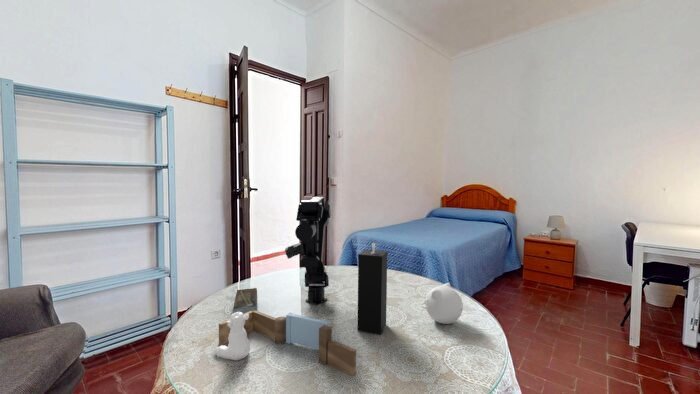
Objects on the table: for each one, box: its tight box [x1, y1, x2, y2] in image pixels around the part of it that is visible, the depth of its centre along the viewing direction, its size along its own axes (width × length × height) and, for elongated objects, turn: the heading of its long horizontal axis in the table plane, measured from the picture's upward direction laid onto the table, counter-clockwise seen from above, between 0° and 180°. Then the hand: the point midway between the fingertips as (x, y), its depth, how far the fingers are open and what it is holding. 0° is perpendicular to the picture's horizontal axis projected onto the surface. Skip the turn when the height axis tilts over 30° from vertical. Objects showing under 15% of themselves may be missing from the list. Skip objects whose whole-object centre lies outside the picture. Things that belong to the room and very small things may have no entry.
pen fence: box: [218, 310, 357, 376], centre depth 82 cm, size 14×40×9 cm, turn 55°
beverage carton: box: [232, 287, 258, 314], centre depth 109 cm, size 8×19×6 cm, turn 16°
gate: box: [285, 312, 330, 351], centre depth 86 cm, size 13×2×8 cm, turn 65°
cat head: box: [420, 282, 464, 325], centre depth 103 cm, size 15×13×12 cm
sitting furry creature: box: [214, 312, 251, 361], centre depth 82 cm, size 10×9×12 cm
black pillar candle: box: [357, 242, 388, 336], centre depth 98 cm, size 8×8×28 cm
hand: (309, 280), depth 106 cm, fingers closed
